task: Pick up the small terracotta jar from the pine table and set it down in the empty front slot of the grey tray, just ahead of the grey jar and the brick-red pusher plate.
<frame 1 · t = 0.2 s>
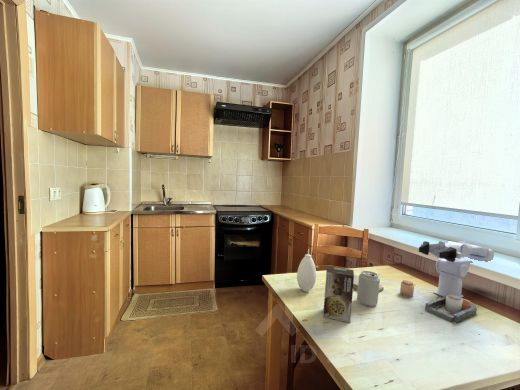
hand: (429, 252, 102), 21 cm above the table, tool horizontal, fingers open, 7 cm apart
grey tray: (449, 311, 97), on the table
pusher: (458, 302, 100), point 2 cm above the table, slide at 0.0 cm
sauce bottle: (305, 291, 107), on the table
coffee box: (336, 316, 88), on the table
terracotta jar: (406, 294, 110), on the table
can: (366, 303, 100), on the table
grey jar: (452, 310, 98), resting in grey tray
washcloth: (359, 286, 117), on the table
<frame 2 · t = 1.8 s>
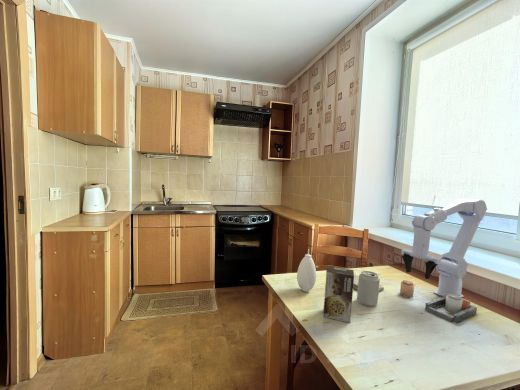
hand: (417, 275, 108), 9 cm above the table, tool pointing down, fingers open, 7 cm apart
nothing on the table moved.
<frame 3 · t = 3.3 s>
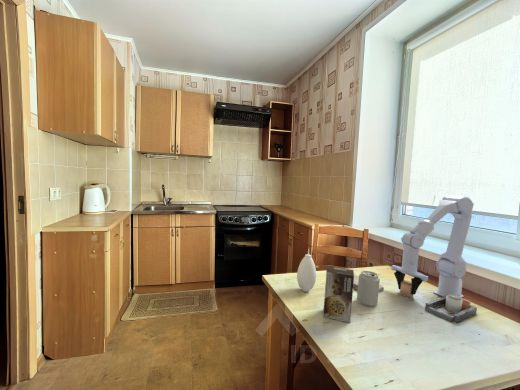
hand: (406, 291, 110), 1 cm above the table, tool pointing down, fingers closed on terracotta jar, 5 cm apart
terracotta jar: (406, 294, 110), on the table, touching gripper
everything else where it was.
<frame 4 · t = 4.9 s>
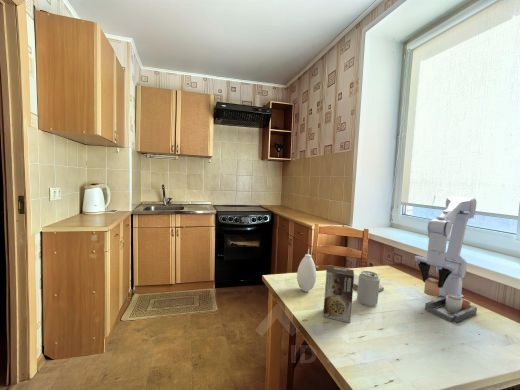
hand: (432, 284, 100), 9 cm above the table, tool pointing down, fingers closed on terracotta jar, 5 cm apart
terracotta jar: (431, 293, 100), point 5 cm above the table, touching gripper
everything else where it was.
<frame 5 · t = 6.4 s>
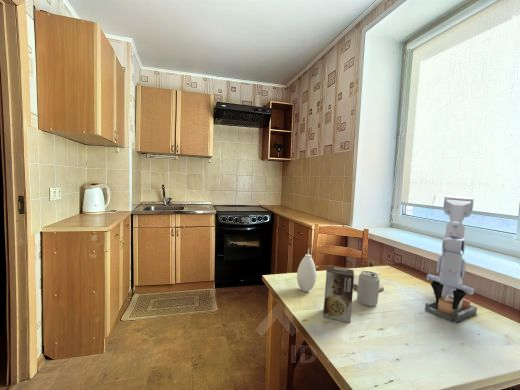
hand: (446, 305, 95), 3 cm above the table, tool pointing down, fingers closed on terracotta jar, 5 cm apart
terracotta jar: (445, 313, 95), resting in grey tray, touching gripper
everything else where it was.
when the fingers open (3 cm above the table, at t = 6.8 s): terracotta jar stays where it is, resting in grey tray.
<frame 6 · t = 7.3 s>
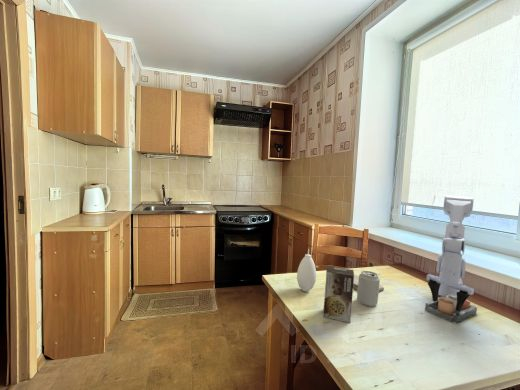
hand: (446, 305, 95), 3 cm above the table, tool pointing down, fingers open, 7 cm apart
terracotta jar: (445, 313, 95), resting in grey tray
everything else where it was.
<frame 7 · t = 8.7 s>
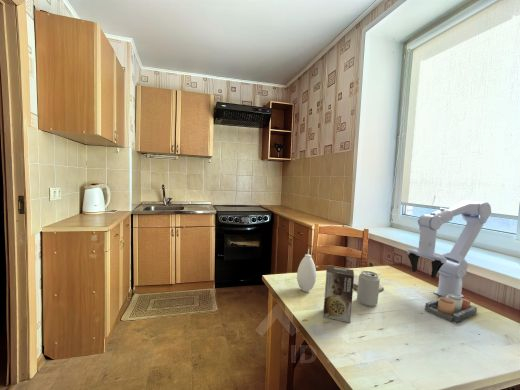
hand: (423, 274, 108), 10 cm above the table, tool pointing down, fingers open, 7 cm apart
nothing on the table moved.
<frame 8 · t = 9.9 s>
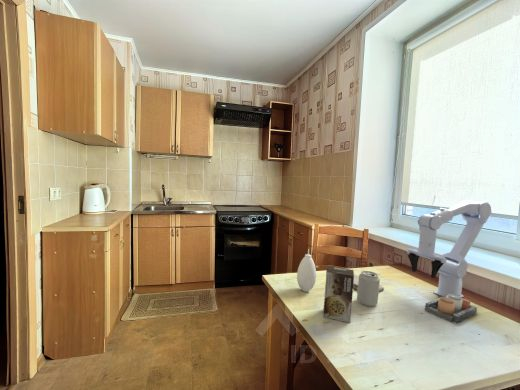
hand: (423, 274, 108), 10 cm above the table, tool pointing down, fingers open, 7 cm apart
nothing on the table moved.
at the end: terracotta jar 0.3 cm from the target spot on the grey tray, point 0.0 cm above the grey tray's base; terracotta jar tilted 0°; the gripper is holding nothing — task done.
